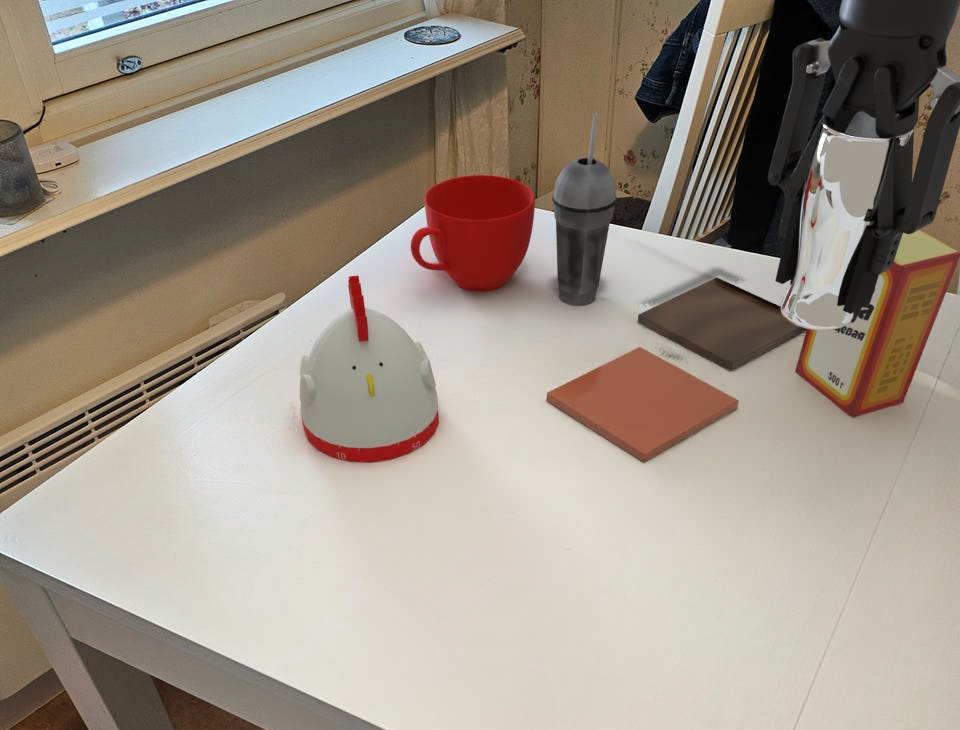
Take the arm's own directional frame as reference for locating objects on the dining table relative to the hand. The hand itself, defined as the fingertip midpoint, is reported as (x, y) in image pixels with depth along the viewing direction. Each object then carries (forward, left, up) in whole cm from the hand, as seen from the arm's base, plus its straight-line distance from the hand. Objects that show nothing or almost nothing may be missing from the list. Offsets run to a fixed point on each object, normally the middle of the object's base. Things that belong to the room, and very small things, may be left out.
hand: (821, 291), depth 76 cm
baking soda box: (+2, -15, -17) cm, 22 cm away
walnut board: (+19, -15, -16) cm, 29 cm away
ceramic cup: (+46, +1, -17) cm, 49 cm away
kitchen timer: (+30, +27, -17) cm, 44 cm away
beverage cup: (+35, -7, -17) cm, 39 cm away
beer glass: (0, 0, -2) cm, 2 cm away
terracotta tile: (+14, +4, -16) cm, 22 cm away
